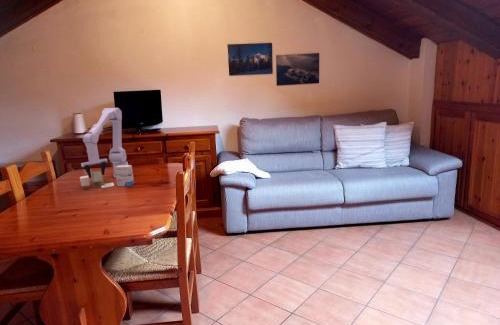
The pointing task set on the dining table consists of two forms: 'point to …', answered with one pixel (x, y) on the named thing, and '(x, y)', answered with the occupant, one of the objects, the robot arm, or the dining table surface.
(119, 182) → the ink box
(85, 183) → the cream block
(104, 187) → the tile
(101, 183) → the walnut slab
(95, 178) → the sage block
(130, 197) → the dining table surface
